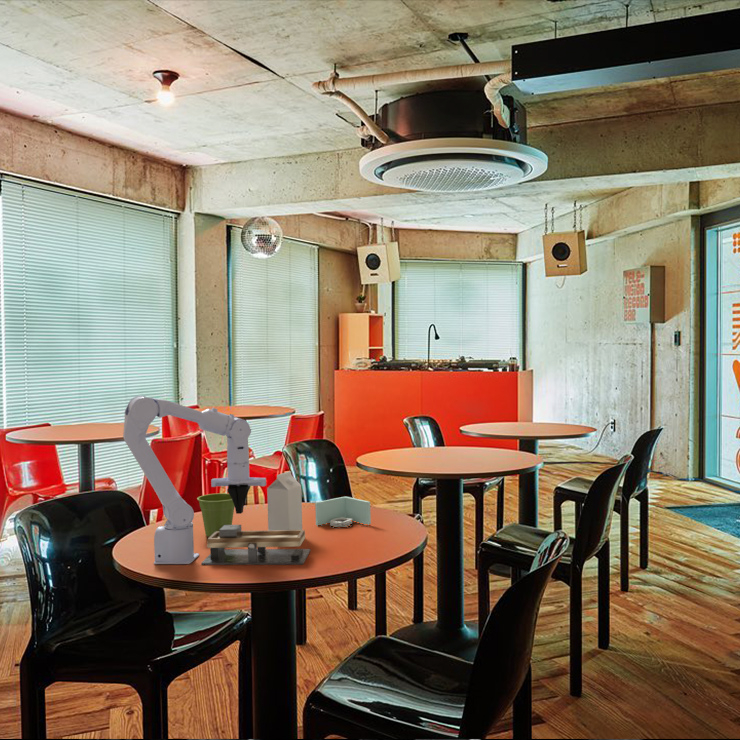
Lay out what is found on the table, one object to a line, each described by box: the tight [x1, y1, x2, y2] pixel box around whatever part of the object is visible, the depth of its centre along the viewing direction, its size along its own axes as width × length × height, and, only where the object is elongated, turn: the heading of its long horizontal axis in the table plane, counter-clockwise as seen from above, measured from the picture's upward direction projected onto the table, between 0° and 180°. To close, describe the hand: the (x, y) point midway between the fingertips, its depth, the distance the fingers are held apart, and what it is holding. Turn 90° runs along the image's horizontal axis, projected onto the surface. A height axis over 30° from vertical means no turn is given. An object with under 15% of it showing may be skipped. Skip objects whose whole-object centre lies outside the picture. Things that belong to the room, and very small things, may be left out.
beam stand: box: [200, 543, 311, 566], centre depth 178 cm, size 26×13×5 cm, turn 86°
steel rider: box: [219, 524, 243, 538], centre depth 179 cm, size 4×5×3 cm
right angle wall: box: [314, 495, 372, 528], centre depth 210 cm, size 12×12×8 cm
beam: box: [206, 529, 306, 549], centre depth 178 cm, size 24×8×2 cm, turn 86°
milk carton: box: [266, 470, 303, 531], centre depth 196 cm, size 7×7×19 cm
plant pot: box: [196, 492, 235, 538], centre depth 202 cm, size 12×12×11 cm
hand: (239, 512), depth 184 cm, fingers closed
